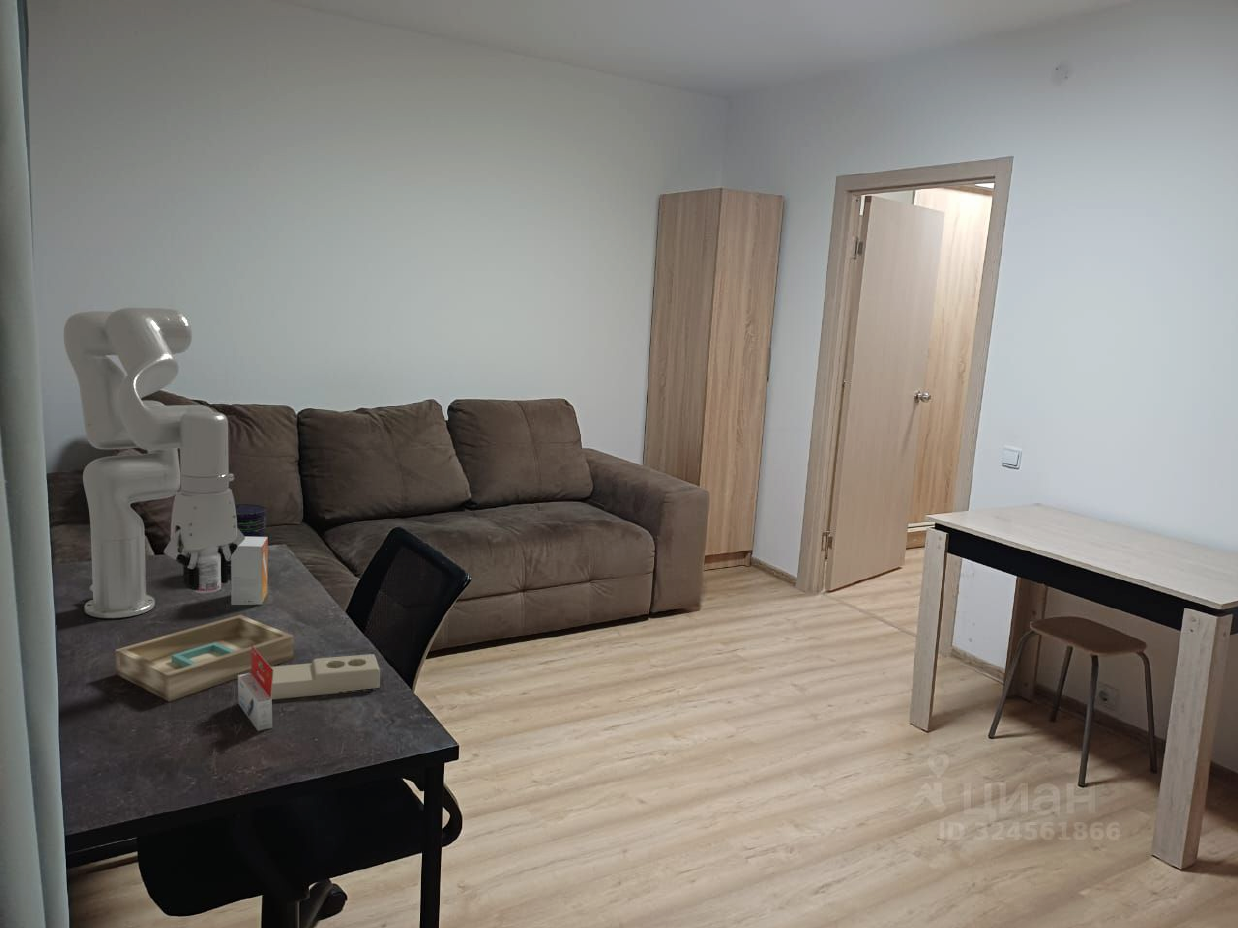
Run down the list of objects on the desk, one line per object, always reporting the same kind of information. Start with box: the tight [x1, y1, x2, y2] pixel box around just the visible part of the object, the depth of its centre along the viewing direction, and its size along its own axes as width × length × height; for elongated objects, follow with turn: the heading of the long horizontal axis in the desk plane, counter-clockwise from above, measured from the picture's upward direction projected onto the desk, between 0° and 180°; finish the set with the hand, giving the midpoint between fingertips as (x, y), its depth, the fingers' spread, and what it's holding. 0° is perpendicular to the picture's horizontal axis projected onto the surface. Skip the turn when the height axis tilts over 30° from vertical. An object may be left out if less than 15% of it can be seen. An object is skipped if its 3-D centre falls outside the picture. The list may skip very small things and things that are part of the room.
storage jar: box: [228, 503, 267, 577], centre depth 216 cm, size 10×10×15 cm
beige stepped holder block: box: [271, 653, 381, 700], centre depth 159 cm, size 7×4×18 cm
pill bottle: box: [192, 547, 222, 594], centre depth 160 cm, size 5×5×8 cm
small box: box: [230, 536, 269, 606], centre depth 197 cm, size 8×6×13 cm
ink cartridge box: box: [237, 646, 273, 732], centre depth 146 cm, size 2×11×10 cm, turn 37°
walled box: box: [115, 614, 295, 702], centre depth 163 cm, size 16×24×4 cm, turn 147°
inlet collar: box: [171, 642, 235, 667], centre depth 163 cm, size 8×8×1 cm
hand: (206, 583), depth 161 cm, fingers closed on pill bottle, 4 cm apart
